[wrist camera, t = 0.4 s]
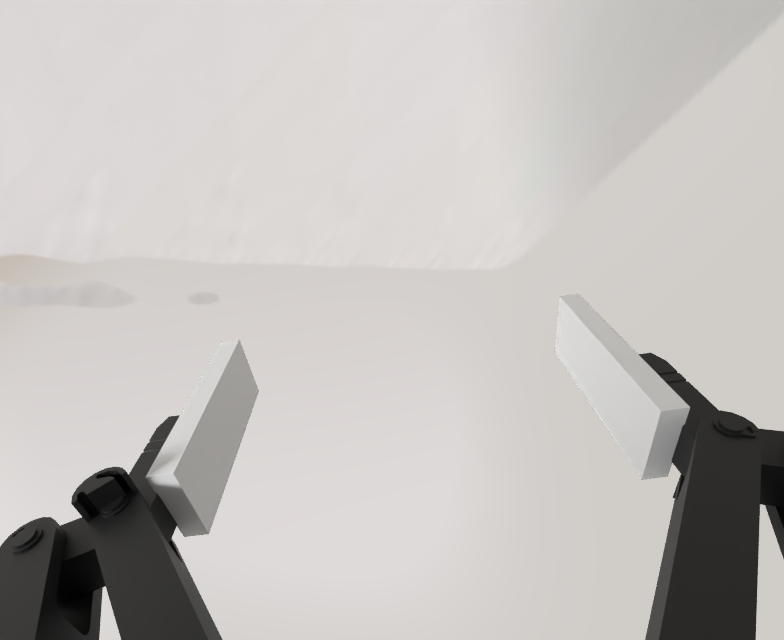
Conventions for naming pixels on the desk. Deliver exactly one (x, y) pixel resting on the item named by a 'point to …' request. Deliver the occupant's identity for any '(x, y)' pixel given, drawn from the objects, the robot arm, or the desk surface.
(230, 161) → the desk surface
